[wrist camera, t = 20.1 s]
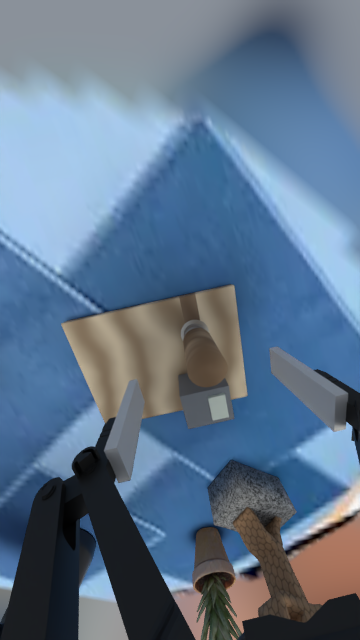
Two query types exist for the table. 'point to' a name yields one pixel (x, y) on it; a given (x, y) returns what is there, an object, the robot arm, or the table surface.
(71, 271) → the table surface
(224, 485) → the figurine
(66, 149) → the table surface
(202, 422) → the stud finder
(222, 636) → the potted plant
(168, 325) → the board
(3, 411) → the table surface
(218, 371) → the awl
